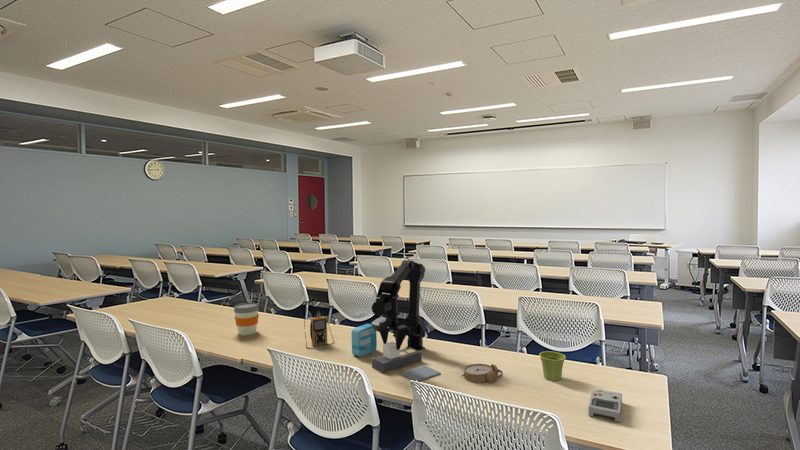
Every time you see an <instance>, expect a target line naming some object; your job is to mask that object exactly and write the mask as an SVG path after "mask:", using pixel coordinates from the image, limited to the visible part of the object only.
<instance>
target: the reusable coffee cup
mask: <svg viewBox="0 0 800 450" xmlns="http://www.w3.org/2000/svg"><path fill="white" fill-rule="evenodd" d="M259 307H260V306H259V303H258V302H257V303H256V302H244V303H238V304H236V305H234V308H233V312H234V320H235V325H236V328H237V331H238V332H237V333H238V335H239V336H250V335H251V336H252V335H254V334H256V333H257V328H258V327H257V326H258V323H259V310H260V308H259Z"/></svg>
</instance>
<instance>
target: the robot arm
mask: <svg viewBox="0 0 800 450" xmlns="http://www.w3.org/2000/svg"><path fill="white" fill-rule="evenodd" d="M425 273H426V267H425V266H424V264H423V263H418V262H415V261H414V260H408V259H407V260H402V261H401V264H400V265H399V266H398V267H397V269H396V270H394V272H393V273H392V274H391V275H389V276H387V277H385V278H383V279H382V280H381V282H380V284H379V287H378V290H377V294H376V298H375V301H374V302H373V304H371V305H372V306H371V311H372V314H374V315H375V316H376V317H378V318H375V319H374V320H373V321H372V322H371V323H370V324H371V325H372V327H373V329H374V330H376V333H379V334H380V337H381V340H382V342H383V344H386V343H388V337H389V332H390V330H392V337H394V339H395V343H396V348H397V350H399V349H400V350H401V347H402V345H403V342H404V340H406V339H405V338H406V337H407V340H406V341H407V343H406V344H407V346H406V347H405V348H409V347H411V348H413V349H415V350H418V351H421V350H425V348H426V347H425V346H424V345H423V344H424V342H423V338H425V337H426V334H427V333H426V332H427V331H426V329H425V326H424V325H423V319H422V317H421V316H420V297H421V295H420V292H421V282H422V281H423V279H424V278H425ZM406 278H407V280H408V282H409V291H408V293H409V294H408V313H407V315H406V317H404V319H403V324H402V325H401V322H400V321H398V316H400V312H399V311H398V298H399V297H400V295H399V292H400V290H401V284H402V283H403V281H404V280H405V279H406Z"/></svg>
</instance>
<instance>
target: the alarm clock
mask: <svg viewBox="0 0 800 450" xmlns="http://www.w3.org/2000/svg"><path fill="white" fill-rule="evenodd" d="M499 373H500V374H499ZM503 376H504V372H503V370H502V369H499V368H498V367H497V365H495V364H491V365H489V364H486V363H472V364H469V365H466V366H465V367H463V374H461V377H464V379H465V380H466V381H467V382H470V383H476V384H477V383H478V384H479V383H481V384H482V383H486V382H488V383H489V384H494V382H496V380H497V379H499V378H503Z"/></svg>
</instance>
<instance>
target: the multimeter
mask: <svg viewBox="0 0 800 450" xmlns="http://www.w3.org/2000/svg"><path fill="white" fill-rule="evenodd" d="M321 304H324V306H325V307H326V308H327V311H329V307H328V306H327V304H326V303H324V302H320V303H319V305H318V306H317V305H316V304H314V306H315V308H316V316H315V317H311V318H310V327H309V329H310V331H309V334H310V339H311V344H312V346H318V345H322V346H320V348H319V350H321V349H323V348H324V347H325V346H330V345H333V344H334V342H335V340H334V337H333V334H332V331H331V327H330V325H329V322H328V317H327V316H323V315H322V316H321V311H320V310H321V309H320V308H321V306H320V305H321ZM309 307H311V304H309V305H308V306H307V308H306V311H305V313H304V317H307V316H306V315H307V310H308V309H309ZM303 321H304V324H303V325H304V328H306V319H304V320H303ZM328 328H329V332H330V335H331V338H332V341H333V343H328ZM304 335H305V337H304V338H307V335H306V332H304ZM305 344H306V346H305V348H306V349H308V345H307V344H308V343H307V341H305ZM323 344H324V345H323ZM309 349H312V350H313V349H314V350H316V347H309Z"/></svg>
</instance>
